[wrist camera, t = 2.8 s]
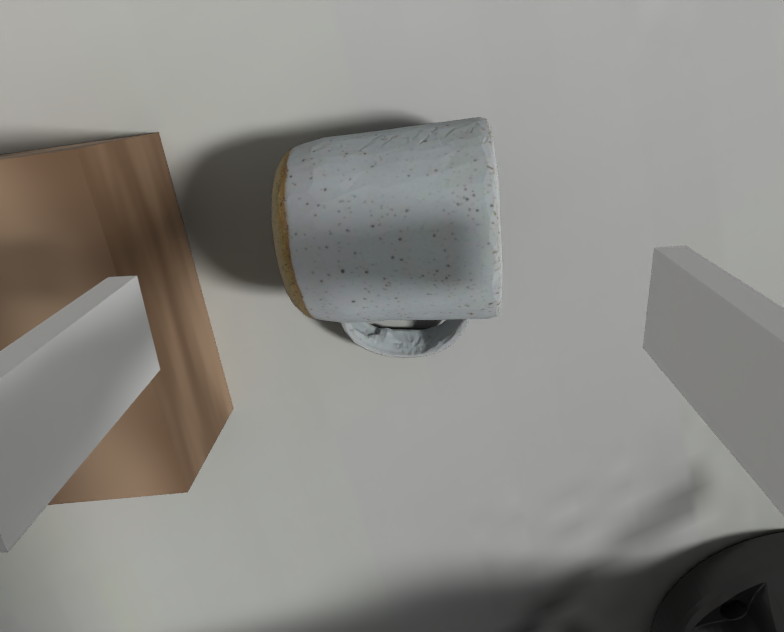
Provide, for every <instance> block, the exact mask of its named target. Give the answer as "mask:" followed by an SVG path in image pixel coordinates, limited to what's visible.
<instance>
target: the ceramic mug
mask: <svg viewBox="0 0 784 632" xmlns="http://www.w3.org/2000/svg"><path fill="white" fill-rule="evenodd" d="M271 212H272V229H273V238H274V246H275V252H276V257H277V261H278V265H279V269H280V273H281V276H282V279H283V282H284V286H285V289H286V292H287V293H288V295H289V297H290V299H291V301H292V302H293V304H294V305H295V306H296V307H297V308H298V309H299V310H300V311H301V312H302V313H303V314H305V315H306V316H308V317H310V318H314V319H318V320H325V321H334V322H340V323H341V325H342V327H343V329H344V331H345V332H346V333H347V335H348V336H349V337H350V338H351V339H352V341H354V342H355V343H356V344H357V345H359V346H361V347H363V348H365V349H366V350H369V351H371V352H374V353H376V354H380V355H385V356H391V357H401V358H413V357H422V356H427V355H431V354H434V353H437V352H440V351H442V350H444V349H446V348H447V347H449V346H450V345H451V344H453V343H454V342H455V341H456V340H457V339H458V337H459V336H460V335H461V334H462V332H463V331H464V329H465V328H466V326H467V323H468V321H469V319H487V318H492V317H496V316H497V315H498V314H499V312H500V309H501V301H502V273H503V269H502V243H501V225H500V202H499V181H498V170H497V163H496V159H495V152H494V141H493V136H492V132H491V127H490V125H489V123H488V121H487V119H485V118H481V117H476V118H468V119H462V120H455V121H447V122H439V123H431V124H423V125H416V126H408V127H401V128H394V129H387V130H380V131H372V132H365V133H357V134H348V135H340V136H331V137H324V138H321V139H317V140H314V141H311V142H307V143H304V144H301V145H298V146H296V147H294V148H292V149H290V150H289V151H288V152H287V153H286V154H285V155H284V156H283V157H282V159H281V161H280V163H279V165H278V167H277V169H276V173H275V177H274V181H273V187H272V210H271ZM384 320H446V321H444V322H443V323H442V324H440V325H438V326H436V327H431V328H428V329H422V330H404V329H393V330H392V329H389V328H377V327H375V326H373V325H370V324H369V323H368V322H371V321H384Z"/></svg>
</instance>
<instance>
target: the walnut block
mask: <svg viewBox="0 0 784 632" xmlns="http://www.w3.org/2000/svg"><path fill="white" fill-rule="evenodd" d="M119 276H137V278H138V282H139V286H140V290H141V294H142V298H143V302H144V306H145V310H146V314H147V318H148V322H149V326H150V330H151V334H152V338H153V342H154V346H155V350H156V354H157V358H158V362H159V366H160V371H159V372H158V373H157V374H156V375H155V377H154V378H153V379H152V380H151V381H150V383H149V384H148V385H147V386H146V387H145V389H144V390H143V391H142V392H141V393H140V395H139V396H138V397H137V398H136V399H135V401H134V402H133V403H132V404H131V405H130V407H129V408H128V409H127V410H126V411H125V413H124V414H123V415H122V416H121V417H120V419H119V420H118V421H117V422H116V423H115V425H114V426H113V427H112V428H111V429H110V431H109V432H108V433H107V434H106V435H105V437H104V438H103V439H102V440H101V441H100V443H99V444H98V445H97V446H96V447H95V449H94V450H93V451H92V452H91V453H90V454H89V456H88V457H87V458H86V459H85V460H84V462H83V463H82V464H81V465H80V466H79V468H78V469H77V470H76V471H75V472H74V474H73V475H72V476H71V477H70V478H69V480H68V481H67V482H66V483H65V484H64V486H63V487H62V488H61V489H60V490H59V492H58V493H57V494H56V495H55V496H54V498H53V499H52V500H51V501H50V502H49V504H48V505H52V504H63V503H74V502H85V501H96V500H107V499H119V498H130V497H141V496H152V495H163V494H174V493H185V492H188V491H189V489H190V487H191V485H192V483H193V481H194V480H195V478H196V476H197V474H198V472H199V471H200V469H201V467H202V465H203V463H204V461H205V460H206V458H207V456H208V454H209V452H210V450H211V449H212V447H213V445H214V443H215V441H216V439H217V438H218V436H219V434H220V432H221V430H222V428H223V427H224V425H225V423H226V421H227V419H228V418H229V416H230V414H231V412H232V410H233V405H232V401H231V397H230V394H229V390H228V386H227V383H226V379H225V375H224V372H223V368H222V364H221V360H220V357H219V353H218V349H217V346H216V342H215V338H214V335H213V331H212V327H211V324H210V320H209V316H208V312H207V309H206V305H205V301H204V298H203V294H202V290H201V287H200V283H199V279H198V276H197V272H196V268H195V265H194V261H193V257H192V253H191V250H190V246H189V242H188V239H187V235H186V231H185V228H184V224H183V220H182V217H181V213H180V209H179V205H178V202H177V198H176V194H175V191H174V187H173V183H172V180H171V176H170V172H169V169H168V165H167V161H166V157H165V154H164V150H163V146H162V143H161V139H160V135H159V132H157V133H150V134H143V135H136V136H129V137H122V138H115V139H108V140H101V141H94V142H87V143H80V144H73V145H66V146H59V147H52V148H45V149H38V150H31V151H24V152H17V153H10V154H3V155H0V351H1V350H3V349H4V348H5V347H7V346H8V345H10V344H11V343H13V342H14V341H16V340H17V339H19V338H20V337H22V336H23V335H24V334H26V333H27V332H29V331H30V330H32V329H33V328H35V327H36V326H38V325H39V324H41V323H42V322H43V321H45V320H46V319H48V318H49V317H51V316H52V315H54V314H55V313H57V312H58V311H60V310H61V309H62V308H64V307H65V306H67V305H68V304H70V303H71V302H73V301H74V300H76V299H77V298H78V297H80V296H81V295H83V294H84V293H86V292H87V291H89V290H90V289H92V288H93V287H95V286H96V285H97V284H99V283H100V282H102V281H103V280H105V279H106V278H108V277H119Z"/></svg>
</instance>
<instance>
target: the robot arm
mask: <svg viewBox="0 0 784 632" xmlns="http://www.w3.org/2000/svg"><path fill="white" fill-rule="evenodd" d="M643 348H644V350H645V351H646V352H647V353H648V354H649V356H650V357H651V358H652V359H653V360H654V362H655V363H656V364H657V365H658V366H659V368H660V369H661V370H662V371H663V372H664V374H665V375H666V376H667V377H668V378H669V380H670V381H671V382H672V383H673V384H674V386H675V387H676V388H677V389H678V390H679V391H680V393H681V394H682V395H683V396H684V397H685V399H686V400H687V401H688V402H689V403H690V405H691V406H692V407H693V408H694V409H695V411H696V412H697V413H698V414H699V415H700V417H701V418H702V419H703V420H704V421H705V423H706V424H707V425H708V426H709V427H710V429H711V430H712V431H713V432H714V433H715V434H716V436H717V437H718V438H719V439H720V440H721V442H722V443H723V444H724V445H725V446H726V448H727V449H728V450H729V451H730V452H731V454H732V455H733V456H734V457H735V458H736V460H737V461H738V462H739V463H740V464H741V466H742V467H743V468H744V469H745V470H746V472H747V473H748V474H749V475H750V476H751V477H752V479H753V480H754V481H755V482H756V483H757V485H758V486H759V487H760V488H761V489H762V491H763V492H764V493H765V494H766V495H767V497H768V498H769V499H770V500H771V501H772V503H773V504H774V505H775V506H776V507H777V509H778V510H779V511H780V512H781V513H782V515H783V516H784V308H783V307H781V306H779V305H778V304H776V303H775V302H773V301H772V300H770V299H768V298H767V297H765V296H764V295H762V294H761V293H759V292H757V291H756V290H754V289H753V288H751V287H750V286H748V285H746V284H745V283H743V282H742V281H740V280H739V279H737V278H736V277H734V276H732V275H731V274H729V273H728V272H726V271H725V270H723V269H721V268H720V267H718V266H717V265H715V264H714V263H712V262H710V261H709V260H707V259H706V258H704V257H703V256H701V255H699V254H698V253H696V252H695V251H693V250H692V249H690V248H688V247H687V246H673V247H655V248H654V253H653V262H652V271H651V280H650V289H649V298H648V307H647V315H646V324H645V333H644V342H643ZM159 371H160V366H159V362H158V358H157V354H156V350H155V346H154V342H153V338H152V334H151V330H150V326H149V322H148V318H147V314H146V310H145V306H144V302H143V298H142V294H141V290H140V286H139V282H138V278H137V276H119V277H108V278H106V279H105V280H103V281H102V282H100V283H99V284H97V285H96V286H95V287H93V288H92V289H90V290H89V291H87V292H86V293H84V294H83V295H81V296H80V297H78V298H77V299H76V300H74V301H73V302H71V303H70V304H68V305H67V306H65V307H64V308H62V309H61V310H60V311H58V312H57V313H55V314H54V315H52V316H51V317H49V318H48V319H46V320H45V321H43V322H42V323H41V324H39V325H38V326H36V327H35V328H33V329H32V330H30V331H29V332H27V333H26V334H24V335H23V336H22V337H20V338H19V339H17V340H16V341H14V342H13V343H11V344H10V345H8V346H7V347H5V348H4V349H3V350H1V351H0V552H9V550H10V549H11V548H12V547H13V546H14V544H15V543H16V542H17V541H18V540H19V538H20V537H21V536H22V535H23V534H24V532H25V531H26V530H27V529H28V528H29V526H30V525H31V524H32V523H33V522H34V520H35V519H36V518H37V517H38V516H39V514H40V513H41V512H42V511H43V510H44V508H45V507H46V506H47V505H48V504H49V502H50V501H51V500H52V499H53V498H54V496H55V495H56V494H57V493H58V492H59V490H60V489H61V488H62V487H63V486H64V484H65V483H66V482H67V481H68V480H69V478H70V477H71V476H72V475H73V474H74V472H75V471H76V470H77V469H78V468H79V466H80V465H81V464H82V463H83V462H84V460H85V459H86V458H87V457H88V456H89V454H90V453H91V452H92V451H93V450H94V449H95V447H96V446H97V445H98V444H99V443H100V441H101V440H102V439H103V438H104V437H105V435H106V434H107V433H108V432H109V431H110V429H111V428H112V427H113V426H114V425H115V423H116V422H117V421H118V420H119V419H120V417H121V416H122V415H123V414H124V413H125V411H126V410H127V409H128V408H129V407H130V405H131V404H132V403H133V402H134V401H135V399H136V398H137V397H138V396H139V395H140V393H141V392H142V391H143V390H144V389H145V387H146V386H147V385H148V384H149V383H150V381H151V380H152V379H153V378H154V377H155V375H156V374H157V373H158V372H159ZM651 632H784V532H782V533H776V534H770V535H766V536H762V537H758V538H754V539H751V540H748V541H745V542H742V543H739V544H737V545H734V546H732V547H729V548H727V549H725V550H723V551H721V552H719V553H717V554H715V555H713V556H712V557H710V558H708V559H707V560H705V561H703V562H702V563H700V564H699V565H697V566H696V567H695V568H693V569H692V570H691V571H690V572H688V573H687V574H686V575H685V576H684V577H683V578H682V579H681V580H680V581H679V582H678V583H677V584H676V585H675V586H674V587H673V588H672V589H671V590H670V592H669V593H668V594H667V596H666V597H665V598H664V600H663V602H662V603H661V605H660V607H659V609H658V611H657V613H656V616H655V618H654V621H653V625H652V629H651Z"/></svg>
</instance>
